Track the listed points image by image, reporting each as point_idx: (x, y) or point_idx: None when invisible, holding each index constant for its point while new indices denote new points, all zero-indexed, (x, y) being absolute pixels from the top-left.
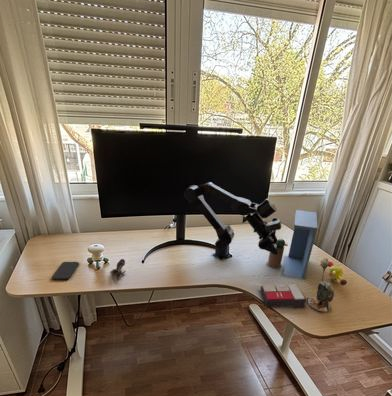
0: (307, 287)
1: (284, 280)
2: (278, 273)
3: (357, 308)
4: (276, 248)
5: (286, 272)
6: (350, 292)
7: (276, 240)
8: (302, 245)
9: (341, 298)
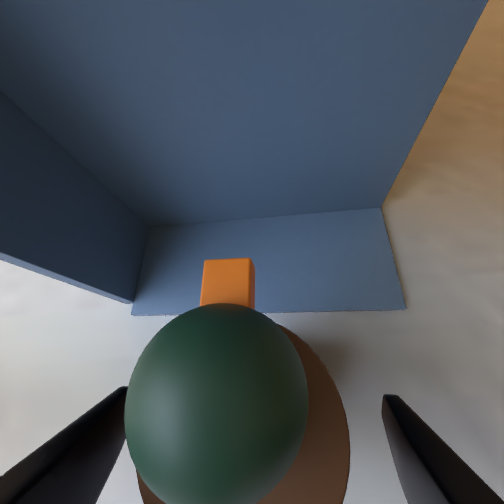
0: (454, 177)
1: (464, 296)
2: (386, 345)
3: (488, 33)
4: (346, 448)
5: (354, 292)
6: None
7: (54, 474)
8: (83, 191)
9: (451, 71)
